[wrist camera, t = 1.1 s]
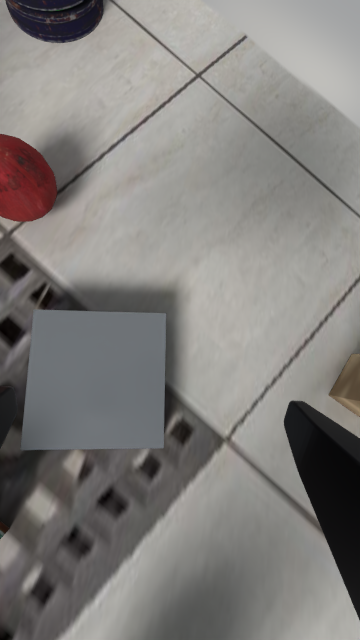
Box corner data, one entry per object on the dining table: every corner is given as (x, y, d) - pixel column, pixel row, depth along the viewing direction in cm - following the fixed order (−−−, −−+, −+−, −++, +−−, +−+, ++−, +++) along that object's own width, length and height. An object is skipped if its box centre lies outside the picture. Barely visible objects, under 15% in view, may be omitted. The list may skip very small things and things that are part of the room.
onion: (76, 188, 25) (40, 111, 18) (57, 244, 24) (10, 189, 17) (15, 171, 25) (-50, 85, 17) (-7, 227, 24) (-86, 163, 16)
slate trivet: (162, 436, 23) (163, 448, 20) (38, 438, 22) (20, 450, 19) (165, 318, 24) (166, 313, 21) (49, 316, 23) (33, 309, 21)
